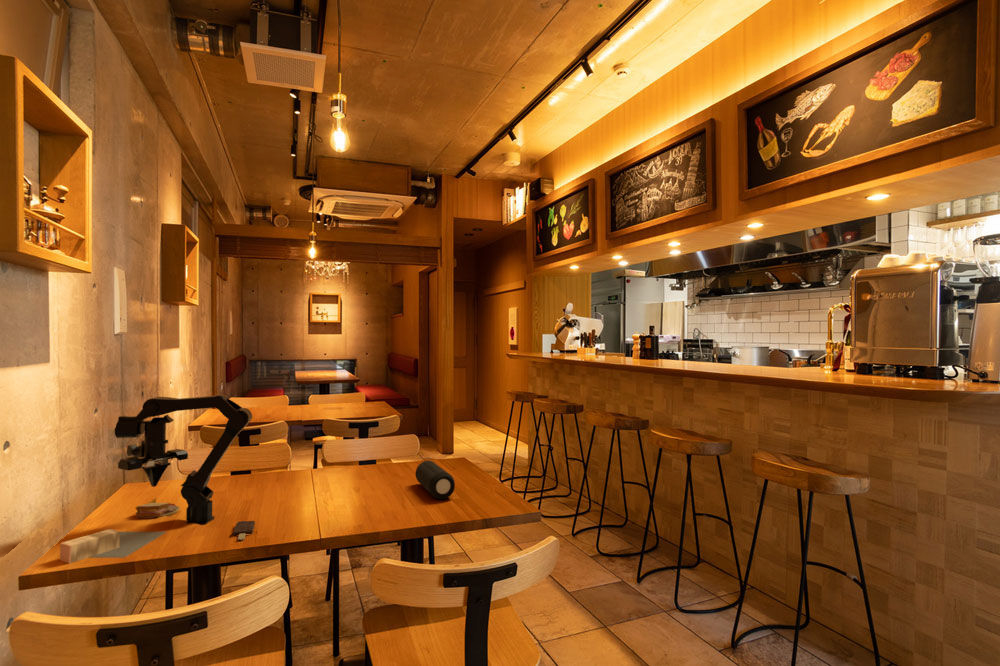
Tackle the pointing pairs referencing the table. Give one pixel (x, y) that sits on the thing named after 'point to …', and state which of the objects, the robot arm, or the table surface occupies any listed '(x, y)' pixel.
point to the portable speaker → (435, 479)
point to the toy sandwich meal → (156, 509)
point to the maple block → (89, 545)
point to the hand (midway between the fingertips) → (153, 486)
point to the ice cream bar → (243, 529)
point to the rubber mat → (130, 544)
